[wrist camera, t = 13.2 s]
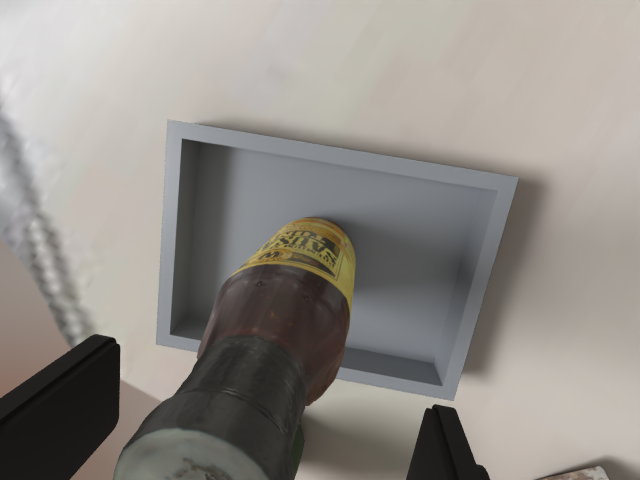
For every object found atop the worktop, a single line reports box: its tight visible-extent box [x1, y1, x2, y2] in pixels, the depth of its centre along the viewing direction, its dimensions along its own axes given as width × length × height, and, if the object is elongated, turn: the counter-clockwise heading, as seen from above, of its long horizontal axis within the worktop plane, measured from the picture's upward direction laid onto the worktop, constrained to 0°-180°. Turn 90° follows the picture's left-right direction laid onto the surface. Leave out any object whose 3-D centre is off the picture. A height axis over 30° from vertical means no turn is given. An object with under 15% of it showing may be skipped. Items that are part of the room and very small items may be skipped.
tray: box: [156, 120, 519, 401], centre depth 26 cm, size 22×16×4 cm
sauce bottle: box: [113, 217, 356, 480], centre depth 17 cm, size 7×6×20 cm
